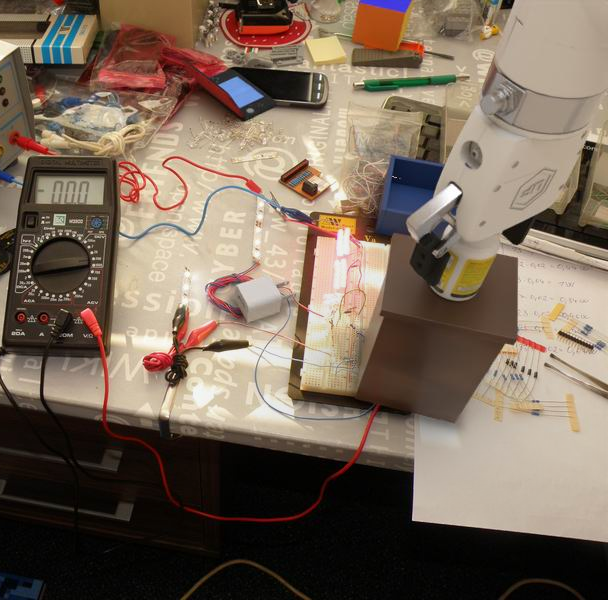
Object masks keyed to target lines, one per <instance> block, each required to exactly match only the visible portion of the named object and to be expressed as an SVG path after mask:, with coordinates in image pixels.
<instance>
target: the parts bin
mask: <svg viewBox="0 0 608 600" xmlns="http://www.w3.org/2000/svg"><path fill="white" fill-rule="evenodd" d="M445 164H446V163H441V162H440V163H439V162H435V161H428V160H423V159H417V158H412V157H406V156H402V155H401V156H400V155H395V154H391V155H390V158H389V162H388V165H387V168H386V172H387V173H385V176H384V179H383V184H382V191H381V196H380V202H379V207H378V213H377V218H376V224H375V229H374V234H377V235H381V236H386V237H391V238H392V236H393V233H397V234H402V235H407V236H410V235H409V230H408V227H407V224H406V220H407V219H408V217H410V216H411V215H412V214H413V213H414V212H416V211H417V210H418V209H420V208H421V207H422V206H423V205H425V204H426V203H427V202H428V201H430V200H431V199H432V198H433V196H434V193H435V189H436V186H437V183H438V181H439V178H440V176H441V173H442V171H443V168H444V166H445ZM392 176H394V177H397V178H394V177H392ZM399 178H401V179H399ZM457 207H458V206H456V207H455V208H454V209H452V210H451V211H450V213H451V214H452V215H454V216H456V210H457ZM448 225H449V224H448V223H447V222H446V221H445V220H444V219H443V220H442V221H441V222H440V223H439V224H438V225H437V226H436V227H435V229H434V230H433V231H432V232H434V233H435V234H436V235H437V236H438V237H439V238H440V239H441V238H442V236H443V233H444V231H445V229H446V228H447V226H448Z"/></svg>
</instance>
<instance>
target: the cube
mask: <svg viewBox="0 0 608 600" xmlns="http://www.w3.org/2000/svg"><path fill="white" fill-rule="evenodd" d="M414 5H415V0H359V1H358V4H357V10H356V15H355V19H354V26H353V30H352V35H351V43H355V44H358V45H359V44H360V45H364V46H367V47H373V48H376V49H380V50H385V51H389V52H393V53H397V50H398V49H399V46H400V45H401V43H402V41H403V39H404V36H405V34H406V32H407V30H408V27H409V22H410V19H411V16H412V11H413V7H414Z"/></svg>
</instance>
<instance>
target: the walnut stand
mask: <svg viewBox="0 0 608 600" xmlns="http://www.w3.org/2000/svg"><path fill="white" fill-rule="evenodd" d="M416 243H417V242H416V241H415V240H414V239H413V238H412V237H411V236H407V235H402V234H397V233H393V236H392V237H391V239H390V246H389V252H388V257H387V263H386V265H387V266H386V271H385V275H384V278H383V281H382V284H381V288H380V290H379V293H378V296H377V299H376V302H375V305H374V308H373V311H372V314H371V317H370V321H369V322H368V323H369V324H368V326H367V330H366V332H365V336H364V340H363V341H364V342H363V347H362V353H361V358H360V364H359V371H358V376H357V382H356V387H355V392H354V394H355V395H354V399H355V400H358V401H362V402H367V403H370V404H374V405H379V406H383V407H388V408H391V409H395V410H399V411H402V412H407V413H411V414H416V415H419V416H423V417H429V418H431V419H436V420H440V421H444V422H447V423H448V422H449V423H453V424H455V423H456V422H457V421H458V419H459V417H460V416H461V414H462V413H463V411H464V410H465V408H466V406H467V404H468V403H469V402H470V400H471V398H472V397H473V395H474V394H475V392H476V390H477V389H478V387H479V386H480V384H481V382H482V381H483V380H484V378H485V377H486V375H487V373H488V372H489V370H490V369H491V367H492V365H493V364H494V362H495V361H496V360H497V358H498V356H499V355H500V353H501V351H502V350H503V348H504V347H505V346H506V345H509V346H515V344H516V343H517V341H518V340H519V339H518V338H519V337H518V336H519V335H518V333H519V332H518V331H519V330H518V328H519V327H518V322H519V317H518V316H519V315H518V313H519V257H517V256H513V255H512V256H511V255H507V254H502V253H497V255H496V257H495V259H494V261H493V263H492V265H491V267H490V269H489V271H488V273H487V275H486V277H485V279H484V281H483V283H482V285H481V287H480V289H479V290H478V292H477V293H476V295H475V296H473V297H472V298H470V299H468V300H464V301H453V300H449V299H446V298H443V297H441V296H439V295H438V294H437V293H435V292H434V291H433V290H432V288H431V287H430V285H429V284H428V283H427V282H426V281H425V280H424V279H423V278H422V277H421V276H419V275H418V274H417V273H416V272H415V271H414V269H413V267H412V266H411V265H410V259H411V256H412V254H413V251H414V248H415V245H416Z"/></svg>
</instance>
